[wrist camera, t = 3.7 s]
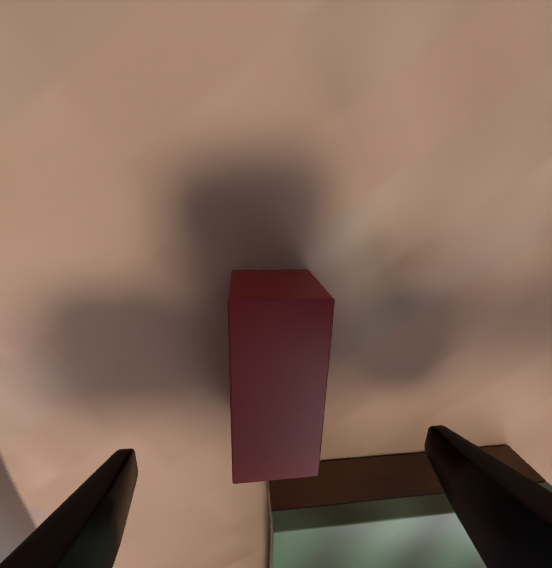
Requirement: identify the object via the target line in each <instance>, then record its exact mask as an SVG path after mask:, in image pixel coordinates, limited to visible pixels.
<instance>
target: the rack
mask: <svg viewBox="0 0 552 568" xmlns="http://www.w3.org/2000/svg"><path fill="white" fill-rule="evenodd" d="M481 449H482V450H484V451H486V452H487V453H489V454H491V455H492V456H494V457H495V458H497V459H499V460H500V461H502V462H504V463H505V464H507V465H508V466H510V467H512V468H513V469H515V470H517V471H518V472H520V473H521V474H523V475H525V476H526V477H528V478H530V479H531V480H533V481H534V482H536V483H538V484H539V485H541V486H543V487H544V488H546V489H547V490H549V491H551V492H552V486H551V485H550V484H549V483H548V482H546V480H545V479H544V478H542V477H541V476H540V475H539V474H538V473H537V472H536V471H535V470H534V469H533V468H532V467H531V466H530V465H529V464H528V463H526V462H525V461H524V460H523V459H522V458H521V457H520V456H519V455H518V454H517V453H516V452H515V451H514V450H513V449H512V448H510V447H509V446H508V445H506V446H494V447H483V448H481ZM267 490H268V501H269V513H270V524H271V537H270V568H487V567H486V565H485V564H484V562H483V560H482V559H481V557H480V555H479V553H478V552H477V550H476V548H475V547H474V545H473V543H472V541H471V540H470V538H469V536H468V535H467V533H466V531H465V529H464V528H463V526H462V524H461V523H460V521H459V519H458V517H457V516H456V514H455V512H454V510H453V508H452V506H451V505H450V503H449V501H448V499H447V497H446V495H445V492H444V490H443V488H442V486H441V484H440V482H439V480H438V478H437V476H436V474H435V472H434V470H433V468H432V465H431V463H430V461H429V459H428V457H427V455H426V453H414V454H403V455H391V456H380V457H368V458H357V459H346V460H334V461H323V462H319V473H318V476H312V477H302V478H291V479H280V480H270V481H267Z"/></svg>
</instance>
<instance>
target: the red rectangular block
mask: <svg viewBox="0 0 552 568" xmlns="http://www.w3.org/2000/svg"><path fill="white" fill-rule="evenodd" d="M334 303H335V300H334V298H333V297H332V296H331V295H330V294H329V293H328V291H327V290H326V289H325V288H324V287H323V286H322V285H321V284H320V283H319V281H318V280H317V279H316V278H315V277H314V276H313V275H312V274H311V272H310V271H309V270H233V271H232V273H231V280H230V287H229V295H228V302H227V307H228V342H229V376H230V411H231V445H232V480H233V483H234V484H238V483H248V482H259V481H270V480H280V479H291V478H302V477H312V476H318V473H319V462H320V451H321V441H322V430H323V420H324V409H325V398H326V388H327V377H328V367H329V356H330V345H331V335H332V324H333V314H334Z"/></svg>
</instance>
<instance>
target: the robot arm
mask: <svg viewBox="0 0 552 568" xmlns="http://www.w3.org/2000/svg"><path fill="white" fill-rule="evenodd" d="M425 452H426V455H427V457H428V459H429V461H430V463H431V465H432V468H433V470H434V472H435V474H436V476H437V478H438V480H439V482H440V484H441V486H442V488H443V490H444V492H445V495H446V497H447V499H448V501H449V503H450V505H451V506H452V508H453V510H454V512H455V514H456V516H457V517H458V519H459V521H460V523H461V524H462V526H463V528H464V529H465V531H466V533H467V535H468V536H469V538H470V540H471V541H472V543H473V545H474V547H475V548H476V550H477V552H478V553H479V555H480V557H481V559H482V560H483V562H484V564H485V565H486V567H487V568H552V492H551V491H549V490H547V489H546V488H544V487H543V486H541V485H539V484H538V483H536V482H534V481H533V480H531V479H530V478H528V477H526V476H525V475H523V474H521V473H520V472H518V471H517V470H515V469H513V468H512V467H510V466H508V465H507V464H505V463H504V462H502V461H500V460H499V459H497V458H495V457H494V456H492V455H491V454H489V453H487V452H486V451H484V450H482V449H481V448H479V447H478V446H476V445H474V444H473V443H471V442H469V441H468V440H466V439H464V438H463V437H461V436H460V435H458V434H456V433H455V432H453V431H451V430H450V429H448V428H447V427H445V426H442V425H438V426H430V427H429V429H428V433H427V437H426V441H425ZM137 476H138V468H137V462H136V456H135V451H134V449H120V450H118V451H116V452H115V453H114V454H113V455H112V456H111V457H110V458H109V459H108V460H107V461H106V462H105V463H104V464H103V465H102V466H100V467H99V468H98V469H97V470H96V471H95V472H94V473H93V474H92V475H91V476H90V477H89V478H88V479H87V480H86V481H85V482H84V483H83V484H82V485H81V486H80V487H79V488H78V489H77V490H76V491H75V492H74V493H73V494H72V495H71V496H70V497H69V498H67V499H66V500H65V501H64V502H63V503H62V504H61V505H60V506H59V507H58V508H57V509H56V510H55V511H54V512H53V513H52V514H51V515H50V516H49V517H48V518H47V519H46V520H45V521H44V522H43V523H42V524H41V525H40V526H39V527H38V528H37V529H36V530H35V531H34V532H32V533H31V534H30V535H29V536H28V537H27V538H26V539H25V540H24V541H23V542H22V543H21V544H20V545H19V546H18V547H17V548H16V549H15V550H14V551H13V552H12V553H11V554H10V555H9V556H8V557H7V558H6V559H5V560H4V561H3V562H2V563H0V568H112V567H113V564H114V561H115V559H116V556H117V552H118V549H119V546H120V543H121V539H122V536H123V532H124V528H125V524H126V520H127V516H128V512H129V509H130V505H131V501H132V497H133V493H134V489H135V485H136V481H137Z"/></svg>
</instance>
